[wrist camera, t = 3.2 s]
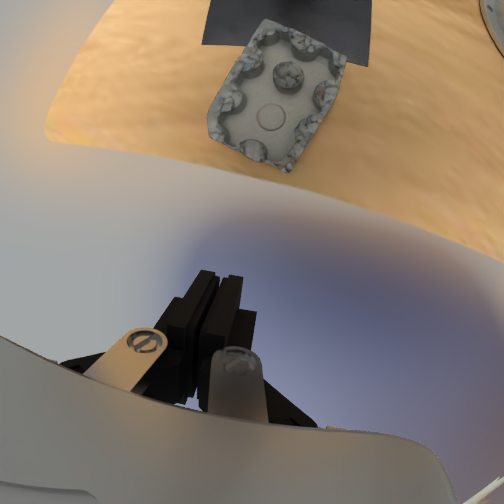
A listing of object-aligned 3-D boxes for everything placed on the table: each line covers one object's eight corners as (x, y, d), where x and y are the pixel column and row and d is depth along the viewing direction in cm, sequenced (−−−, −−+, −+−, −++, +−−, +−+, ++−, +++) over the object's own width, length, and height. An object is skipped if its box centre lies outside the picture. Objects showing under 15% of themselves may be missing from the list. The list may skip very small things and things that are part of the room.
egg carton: (288, 176, 23) (288, 182, 19) (207, 134, 22) (192, 132, 19) (349, 70, 19) (361, 56, 15) (268, 29, 19) (264, 10, 15)
